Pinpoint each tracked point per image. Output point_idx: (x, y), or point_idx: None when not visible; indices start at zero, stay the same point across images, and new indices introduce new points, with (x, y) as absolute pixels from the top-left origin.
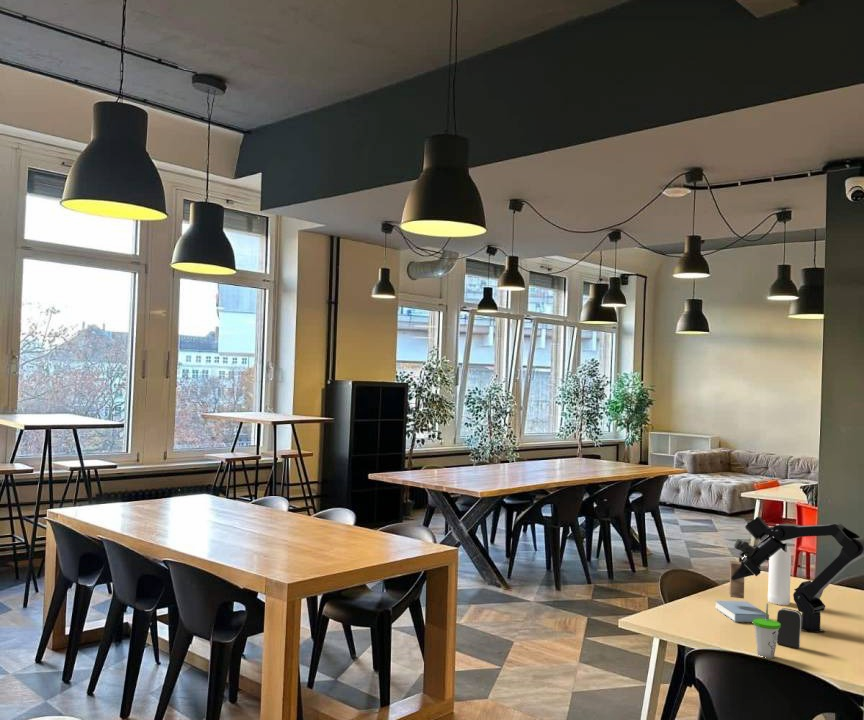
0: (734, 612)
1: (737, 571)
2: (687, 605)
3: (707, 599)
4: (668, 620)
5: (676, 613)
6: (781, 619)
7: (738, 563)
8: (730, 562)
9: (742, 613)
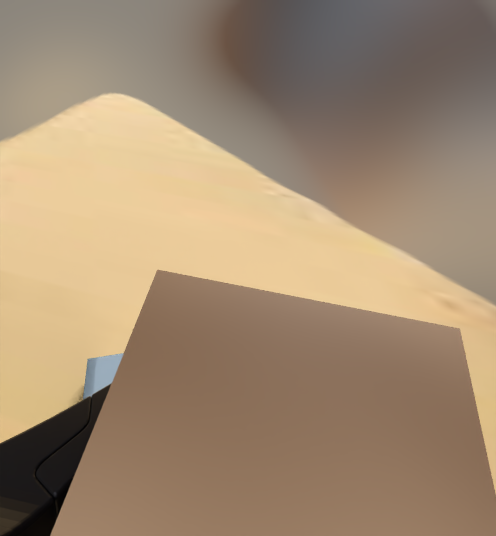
0: (112, 360)
1: (86, 398)
2: (313, 242)
3: None
4: (124, 161)
5: (202, 192)
6: None
7: (201, 513)
8: (399, 326)
9: None
